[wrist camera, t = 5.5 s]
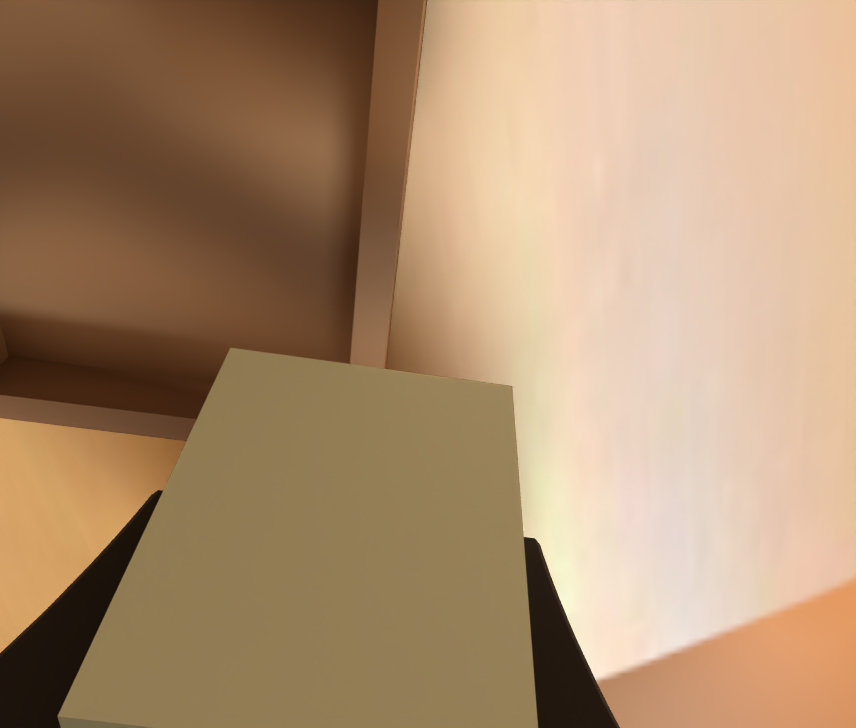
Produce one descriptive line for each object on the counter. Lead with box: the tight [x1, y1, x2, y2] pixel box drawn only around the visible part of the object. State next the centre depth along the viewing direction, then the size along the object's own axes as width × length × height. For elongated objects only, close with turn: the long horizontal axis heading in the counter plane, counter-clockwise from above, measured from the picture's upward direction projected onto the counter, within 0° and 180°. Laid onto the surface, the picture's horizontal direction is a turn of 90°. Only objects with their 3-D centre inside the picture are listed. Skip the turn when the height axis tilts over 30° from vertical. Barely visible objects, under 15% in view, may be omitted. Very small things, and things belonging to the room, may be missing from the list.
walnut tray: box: [0, 0, 427, 441], centre depth 17 cm, size 12×11×2 cm
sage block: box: [58, 348, 538, 728], centre depth 11 cm, size 4×4×6 cm
